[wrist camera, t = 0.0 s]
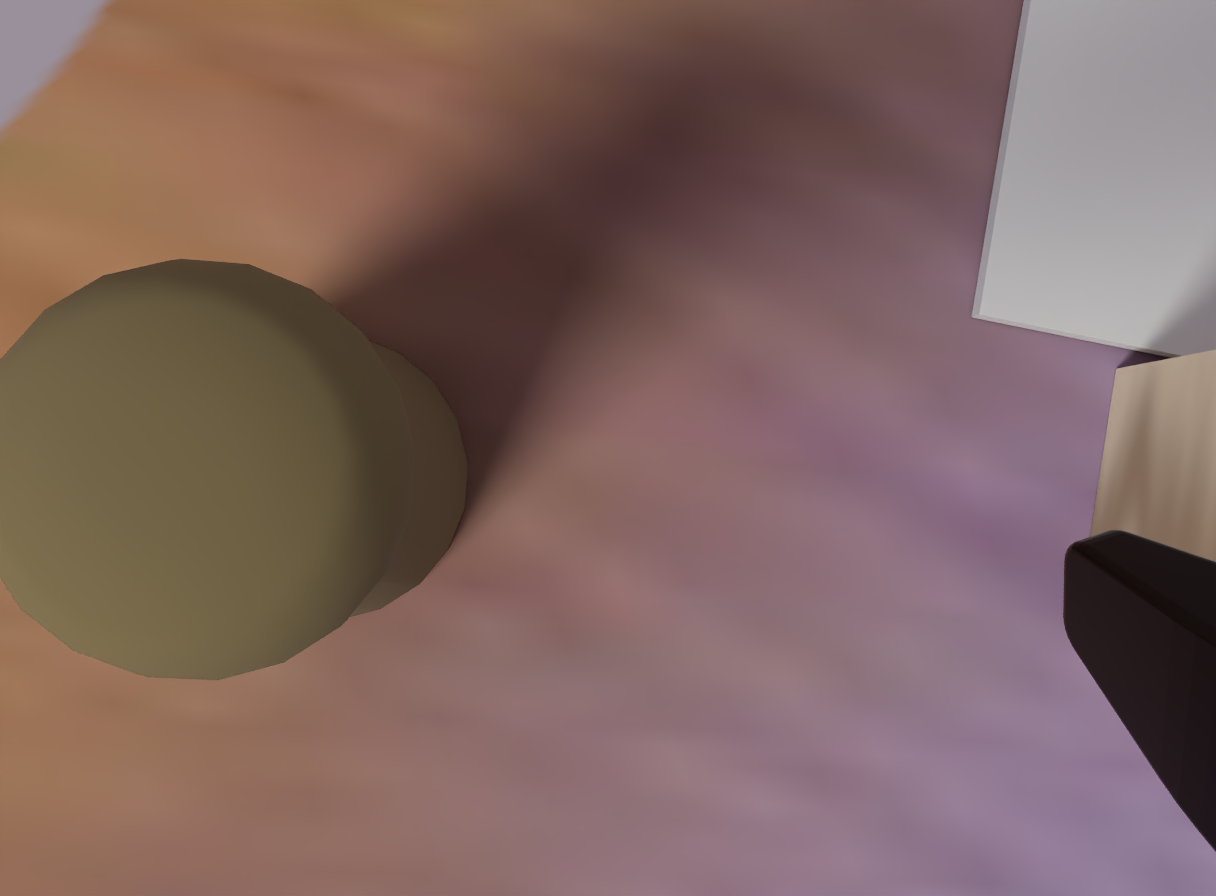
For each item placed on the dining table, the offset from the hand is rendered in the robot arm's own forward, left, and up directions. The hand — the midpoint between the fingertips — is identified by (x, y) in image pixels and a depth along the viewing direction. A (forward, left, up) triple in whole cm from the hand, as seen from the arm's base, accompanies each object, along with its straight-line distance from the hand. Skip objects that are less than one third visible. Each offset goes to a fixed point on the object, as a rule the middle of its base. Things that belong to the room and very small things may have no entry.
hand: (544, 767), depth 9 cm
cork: (+5, +1, -15) cm, 16 cm away
